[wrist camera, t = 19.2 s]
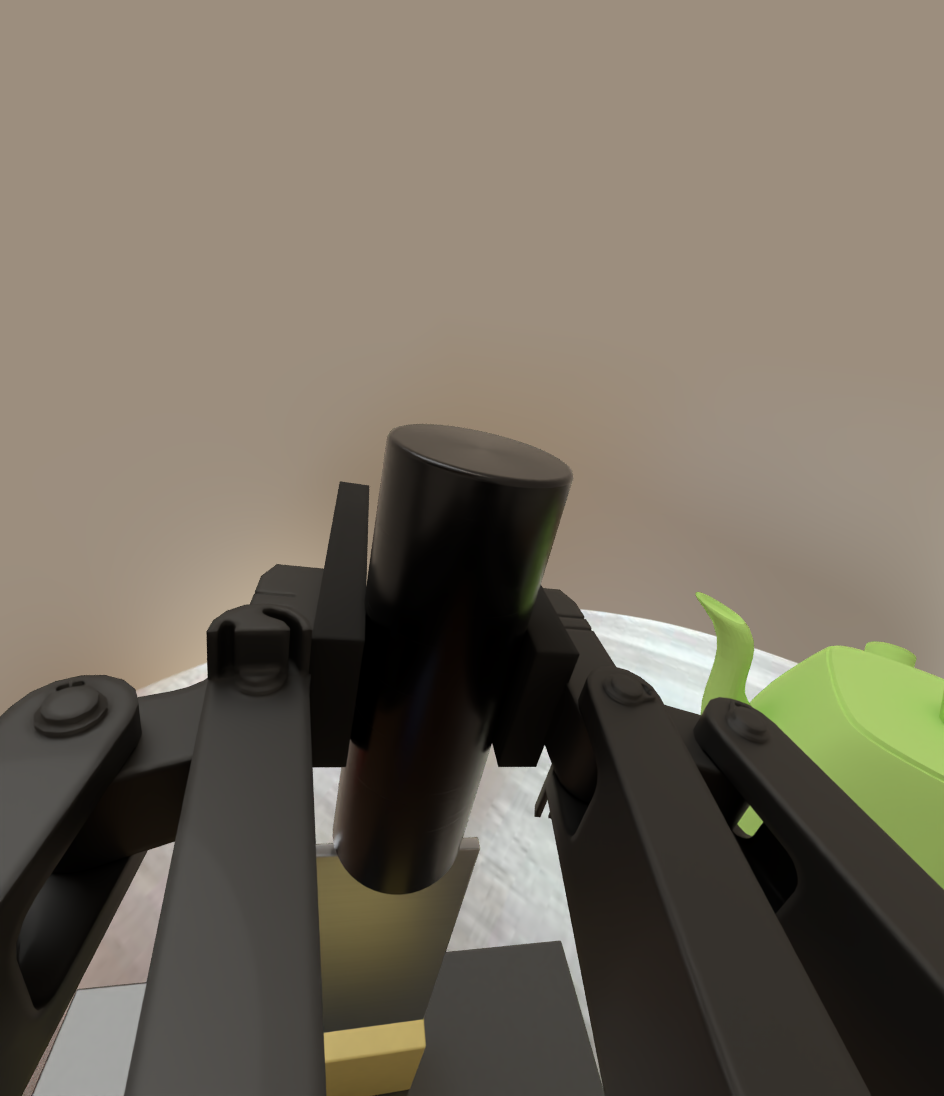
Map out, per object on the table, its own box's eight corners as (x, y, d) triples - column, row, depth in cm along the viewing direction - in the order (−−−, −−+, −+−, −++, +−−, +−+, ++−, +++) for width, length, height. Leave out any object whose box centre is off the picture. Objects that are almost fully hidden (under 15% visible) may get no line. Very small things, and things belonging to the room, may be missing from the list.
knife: (274, 1103, 12) (337, 453, 6) (290, 971, 15) (348, 406, 8) (427, 1078, 13) (646, 500, 7) (419, 958, 16) (571, 445, 9)
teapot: (963, 823, 38) (1121, 664, 31) (1150, 1221, 20) (1616, 1050, 13) (646, 672, 47) (716, 524, 40) (581, 853, 29) (685, 641, 22)
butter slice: (265, 1115, 17) (267, 1071, 15) (273, 1051, 18) (277, 1005, 17) (410, 1089, 18) (426, 1047, 16) (407, 1032, 19) (422, 988, 18)
